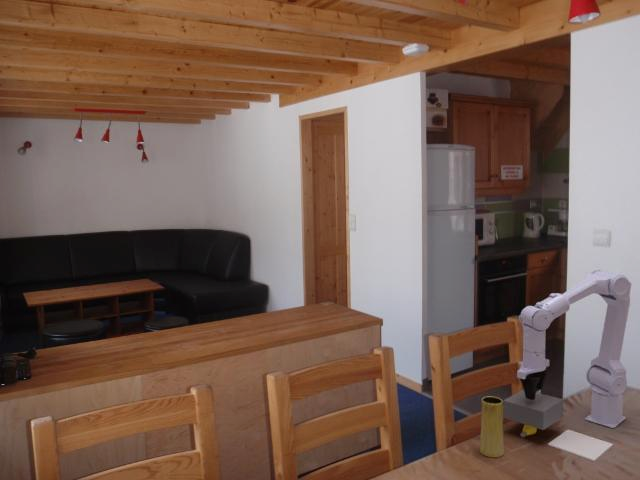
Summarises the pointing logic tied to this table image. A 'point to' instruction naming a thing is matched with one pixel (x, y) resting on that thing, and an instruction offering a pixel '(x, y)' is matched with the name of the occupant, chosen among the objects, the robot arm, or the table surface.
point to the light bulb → (528, 430)
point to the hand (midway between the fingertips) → (533, 396)
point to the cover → (533, 409)
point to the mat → (580, 445)
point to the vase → (492, 427)
